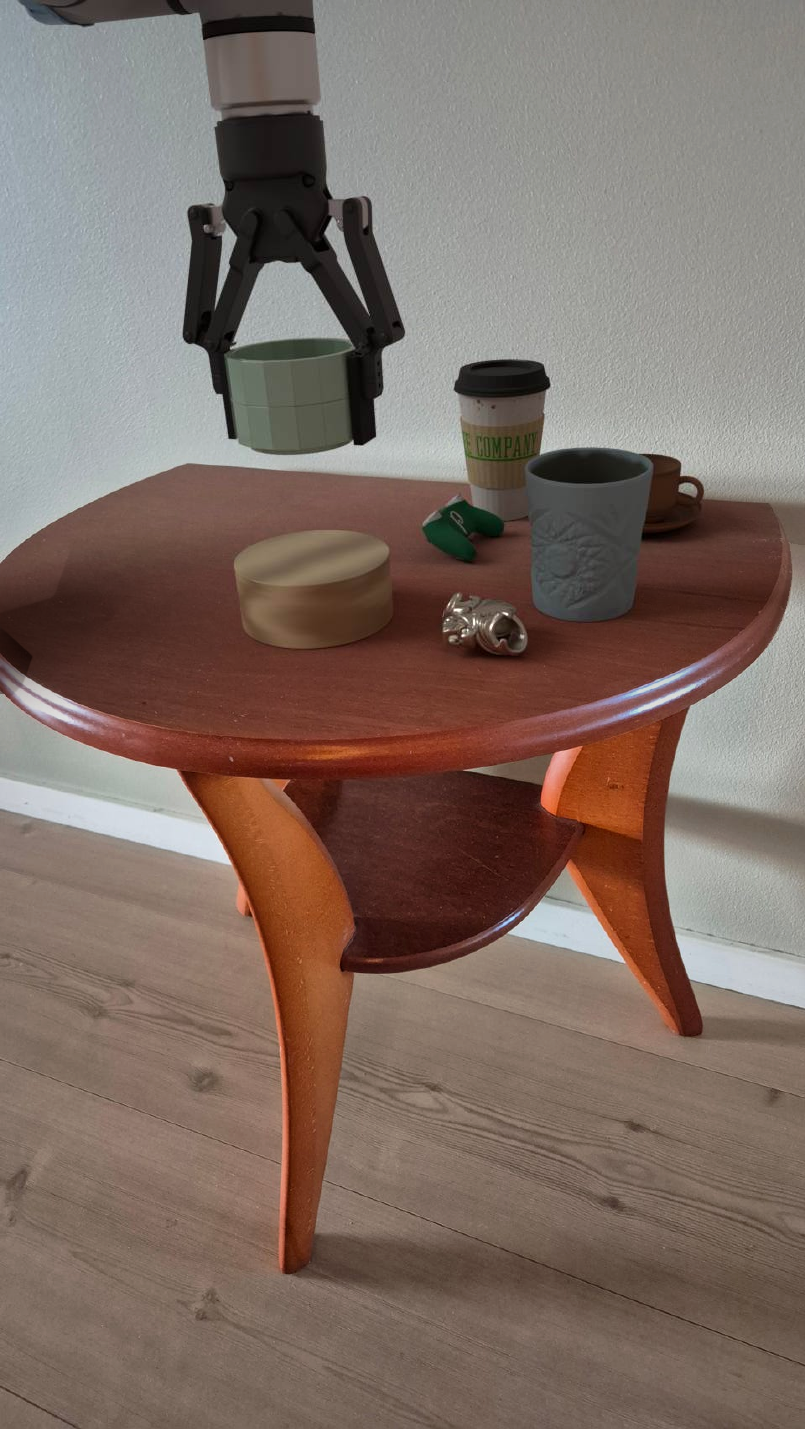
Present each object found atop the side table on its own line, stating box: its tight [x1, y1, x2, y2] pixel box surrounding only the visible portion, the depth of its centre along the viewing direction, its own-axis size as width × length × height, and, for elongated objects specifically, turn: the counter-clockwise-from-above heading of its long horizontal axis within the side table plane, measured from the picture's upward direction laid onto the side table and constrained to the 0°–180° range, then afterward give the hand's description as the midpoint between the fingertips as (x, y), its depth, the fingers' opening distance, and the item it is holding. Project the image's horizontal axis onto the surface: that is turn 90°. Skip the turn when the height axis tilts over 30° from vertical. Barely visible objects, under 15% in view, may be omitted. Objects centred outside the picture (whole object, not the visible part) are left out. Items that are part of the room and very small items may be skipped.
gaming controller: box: [421, 492, 505, 563], centre depth 98 cm, size 9×4×6 cm
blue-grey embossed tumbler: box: [525, 446, 653, 623], centre depth 82 cm, size 10×10×12 cm
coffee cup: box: [453, 358, 552, 522], centre depth 103 cm, size 10×10×15 cm
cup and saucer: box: [639, 453, 705, 534], centre depth 100 cm, size 12×12×6 cm
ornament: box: [441, 592, 529, 657], centre depth 78 cm, size 8×7×4 cm
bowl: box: [224, 337, 357, 456], centre depth 77 cm, size 10×10×7 cm
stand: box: [233, 529, 394, 650], centre depth 84 cm, size 13×13×6 cm
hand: (301, 438), depth 79 cm, fingers closed on bowl, 10 cm apart
